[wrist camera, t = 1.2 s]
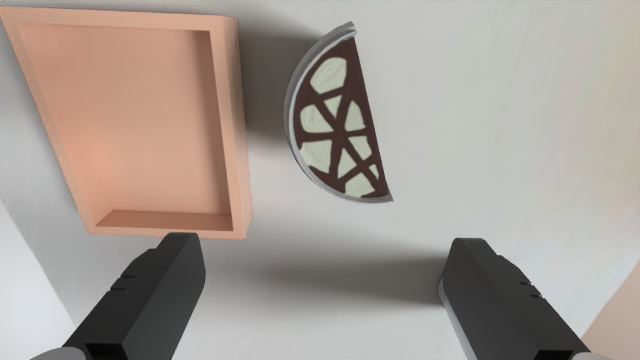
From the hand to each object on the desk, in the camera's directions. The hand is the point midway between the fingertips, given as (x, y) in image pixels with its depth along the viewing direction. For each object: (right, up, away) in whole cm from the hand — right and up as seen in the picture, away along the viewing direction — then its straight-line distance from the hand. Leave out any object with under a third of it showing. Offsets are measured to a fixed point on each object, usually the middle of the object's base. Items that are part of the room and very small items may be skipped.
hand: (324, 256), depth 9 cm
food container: (+1, +10, +18) cm, 21 cm away
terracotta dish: (-15, +7, +19) cm, 26 cm away
